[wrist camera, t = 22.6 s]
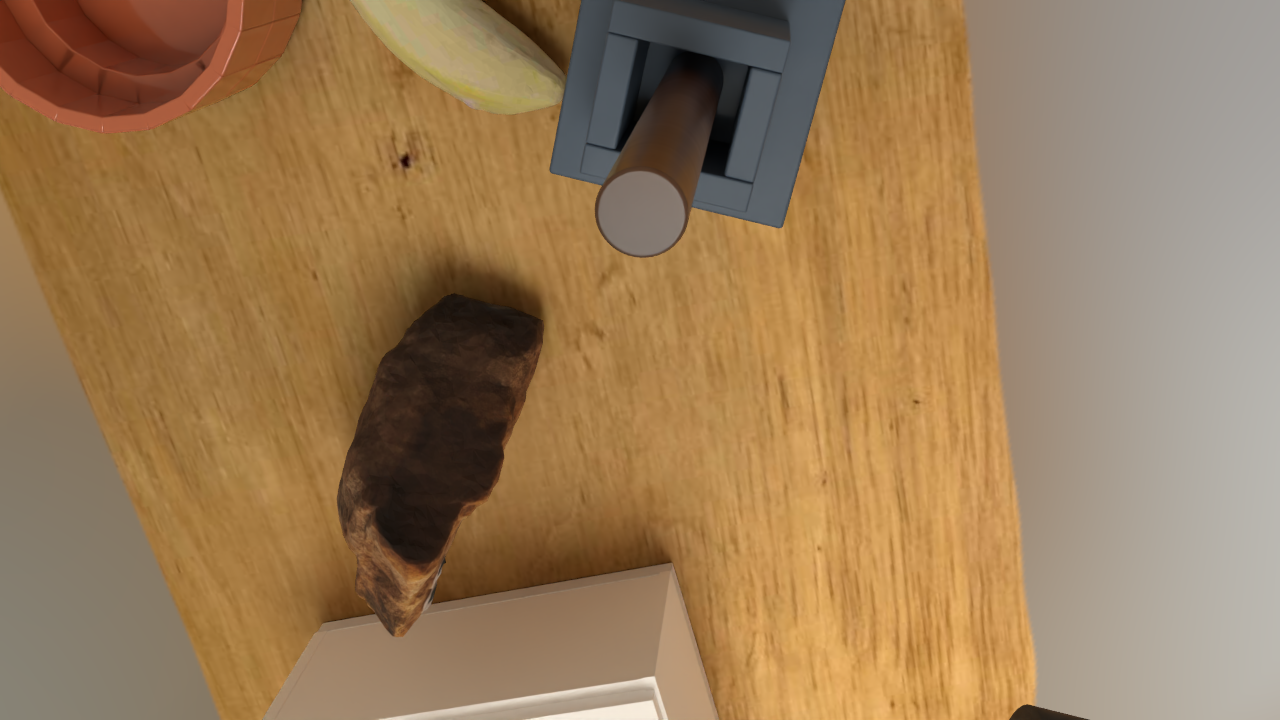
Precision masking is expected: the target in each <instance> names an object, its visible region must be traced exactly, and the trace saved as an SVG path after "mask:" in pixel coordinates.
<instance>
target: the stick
mask: <svg viewBox="0 0 1280 720" xmlns="http://www.w3.org/2000/svg"><path fill="white" fill-rule="evenodd" d="M722 87H723V72H722V69H721V67H720V65H719V63H718V62H717V60H716V59H715V58H714V57H711V56H707V55H703V54H698V53H694V52H690V51H686V52H684V53H681V54H680V55H678V56H677V57H676V58H675V59H674V60H673V61H672V62H671V64H670V65H669V67H668V69H667V71H666V73H665V74H664V76H663V78H662V80H661V81H660V83H659V85H658V87H657V89H656V90H655V92H654V94H653V96H652V98H651V99H650V101H649V103H648V105H647V106H646V108H645V110H644V112H643V114H642V115H641V117H640V119H639V121H638V123H637V124H636V126H635V128H634V130H633V131H632V133H631V135H630V137H629V139H628V140H627V142H626V144H625V146H624V148H623V149H622V151H621V153H620V155H619V156H618V158H617V160H616V162H615V164H614V165H613V167H612V169H611V171H610V173H609V174H608V176H607V178H606V180H605V181H604V183H603V185H602V187H601V189H600V191H599V193H598V195H597V198H596V203H595V218H596V223H597V226H598V228H599V230H600V232H601V234H602V236H603V237H604V239H605V240H606V241H607V242H608V243H609V244H610V245H611V246H612V247H613V248H615V249H616V250H618V251H620V252H622V253H624V254H626V255H629V256H633V257H640V258H646V257H653V256H657V255H660V254H662V253H664V252H666V251H668V250H669V249H671V248H672V247H673V246H674V245H675V244H676V243H677V242H678V241H679V240H680V239H681V237H682V235H683V234H684V232H685V229H686V227H687V223H688V219H689V215H690V211H691V207H692V204H693V200H694V196H695V192H696V188H697V184H698V180H699V176H700V172H701V168H702V165H703V161H704V157H705V153H706V149H707V145H708V141H709V137H710V133H711V130H712V126H713V122H714V118H715V114H716V110H717V106H718V102H719V98H720V94H721V91H722Z"/></svg>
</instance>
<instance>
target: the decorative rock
mask: <svg viewBox="0 0 1280 720" xmlns="http://www.w3.org/2000/svg"><path fill="white" fill-rule="evenodd" d="M543 331H544V324H543V320H540V319H538V318H536V317H533V316H531V315H528V314H526V313H524V312H521V311H519V310H516V309H514V308H511V307H506V306H501V305H495V304H489V303H485V302H482V301H478V300H475V299H471V298H468V297H465V296H463V295H458V294H455V293H453V294H451V295H447V296H444V297H443V298H442V299H441V300H440V301H439V302H438V303H437V304H436V305H434V306H433V307H432V308H430V309H429V310H427V311H426V312H425V313H424V314H423V315H422V316H421V317H420V318H419V319H417V320H416V321H414V323H413V324H412V325H411V327H410V328H408V329H407V331H406V333H405V335H404V337H403V339H402V340H401V341H400V343H399V344H398V345H397V346H396V347H395V348H394V349H392V350H391V351H389V352H388V353H386V354H385V356H384V357H383V358H382V360H381V362H380V364H379V367H378V369H377V373H376V376H375V380H374V383H373V385H372V388H371V390H370V394H369V397H368V400H367V403H366V404H365V406H364V408H363V410H362V413H361V415H360V418H359V420H358V425H357V429H356V433H355V437H354V440H353V442H352V444H351V446H350V448H349V450H348V453H347V456H346V460H345V464H344V468H343V473H342V477H341V480H340V484H339V489H338V495H337V506H338V514H339V520H340V523H341V526H342V531H343V536H344V538H345V540H346V542H347V544H348V546H349V549H350V550H351V551H352V552H353V553H355V554H356V556H357V564H358V567H357V575H356V581H355V591H356V593H357V595H358V596H359V597H360V598H363V599H365V601H366V603H367V605H368V606H369V607H370V608H371V609H372V610H373V611H374V612H375V614H376V615H377V617H378V618H379V620H380V621H381V623H382V624H383V626H384V627H385V628H386V630H387V631H388V632H389V633H390V634H391V635H392V636H393V637H404V635H405V634H406V633H407V632H408V630H409V629H410V628H411V626H412V625H413V624H414V623H415V621H416V620H417V619H418V618H419V617H420V615H421V614H422V613H423V612H424V611H425V610H426V609H428V608H429V606H430V604H431V603H432V601H433V597H434V594H435V590H436V586H437V579H438V578H439V576H440V574H441V571H442V566H443V564H444V563H446V561H445V557H446V554H447V552H448V550H449V548H450V547H451V545H452V543H453V540H454V538H455V535H456V532H457V530H458V528H459V526H460V524H461V522H462V520H463V519H464V518H466V517H468V516H470V514H471V513H472V512H473V511H474V510H475V509H476V507H478V506H480V505H481V504H483V503H485V502H486V501H487V500H488V498H489V496H490V494H491V492H492V490H493V488H494V486H495V485H496V483H497V482H498V480H499V476H500V472H501V468H502V464H503V460H504V452H503V450H504V448H505V446H506V444H507V442H508V441H509V439H510V437H511V434H512V430H513V426H514V425H515V423H516V421H517V419H518V418H519V415H520V413H521V410H522V408H523V405H524V402H525V399H526V391H527V388H528V386H529V384H530V382H531V379H532V377H533V375H534V372H535V368H536V365H537V362H538V358H539V355H540V351H541V347H542V343H543Z"/></svg>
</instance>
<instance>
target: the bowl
mask: <svg viewBox="0 0 1280 720" xmlns="http://www.w3.org/2000/svg"><path fill="white" fill-rule="evenodd" d="M301 6H302V0H0V87H1V88H2V89H3V90H4V91H5V92H6V93H7V94H9V95H11V96H12V97H13V98H15V99H17V100H18V101H20V102H22V103H24V104H25V105H27V106H29V107H31V108H32V109H34V110H36V111H38V112H39V113H41V114H43V115H45V116H46V117H48V118H50V119H52V120H53V121H56V122H58V123H62V124H66V125H70V126H75V127H79V128H83V129H87V130H91V131H95V132H99V133H106V134H107V133H119V132H131V131H143V130H150V129H154V128H156V127H159V126H161V125H164V124H166V123H169V122H171V121H173V120H176V119H178V118H181V117H183V116H186V115H188V114H190V113H193V112H195V111H198V110H200V109H203V108H205V107H207V106H210V105H212V104H215V103H217V102H219V101H222V100H224V99H226V98H228V97H230V96H232V95H234V94H236V93H239V92H241V91H243V90H245V89H247V88H249V87H251V86H253V85H254V84H255V83H256V82H257V81H258V80H259V79H260V78H261V77H262V76H263V75H264V74H265V73H266V72H267V71H268V70H269V69H270V68H271V67H272V66H273V65H274V64H275V62H276V61H277V60H278V59H279V58H280V57H281V56H282V54H283V53H284V51H285V48H286V46H287V44H288V41H289V39H290V37H291V35H292V32H293V30H294V28H295V26H296V23H297V21H298V19H299V16H300V14H299V13H301Z"/></svg>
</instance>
